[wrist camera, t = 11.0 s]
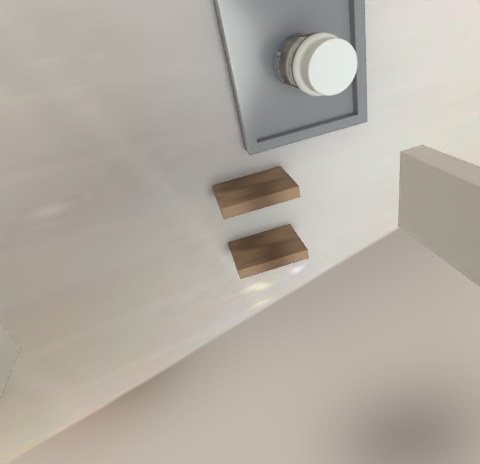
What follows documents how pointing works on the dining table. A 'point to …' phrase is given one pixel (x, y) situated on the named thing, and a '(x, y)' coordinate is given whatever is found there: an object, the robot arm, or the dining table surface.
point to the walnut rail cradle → (266, 243)
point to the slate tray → (266, 81)
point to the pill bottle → (315, 63)
